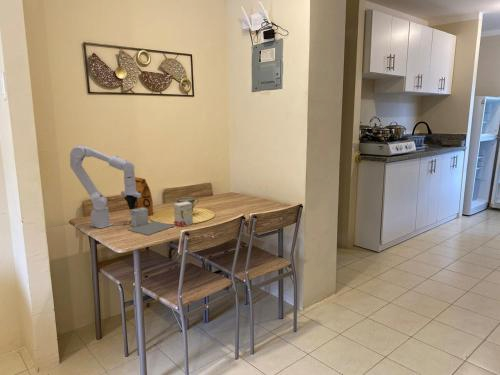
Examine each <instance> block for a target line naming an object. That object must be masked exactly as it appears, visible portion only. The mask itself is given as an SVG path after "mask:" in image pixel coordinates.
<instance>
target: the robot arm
mask: <svg viewBox="0 0 500 375" xmlns="http://www.w3.org/2000/svg"><path fill="white" fill-rule="evenodd" d="M85 158H96V159H98V160H101V161H103V162H106V163H108V165H109V167H112V168H113V169H116V170H120V171H123V183H124V190H123V191H120V196H124V200H125V202H126V203H127V205H128V209H129V210H130V211H131V210H133V209H134V207H135V203H136V200H137V198H139V197H141V194H140V193H138V191H136V182H135V177H136V175H135V174H136V173H135V164H134V162H131V161H130V160H129V161H128V159H122V158H121V157H119V156H118V155H112V156H110V155H108V154H105V153H103V152H100V151H99V150H96V149H94V148H91V147H89V146H85V145H83V144H78V145H76V146H74V147H72V148H71V150H70V153H69V167H70V169H71V170H72V171H73V173H74V174H75V176H76V177H77V180H78V181H79V182H80V183H81V185H82V187H83V188H84V189H85V191H86V192H87V194H88V196H89V198H90V201H91V202H92V207H93V209H92V210H91V211H90V223H91V224H89V226H90V227H93V228H97V229H103V228H106V227H110V226H113V225H114V223H110V215H109V207H108V206H107V205H108V202H109V201H108V199H107V196H104V195H103V194H102V192H101V191H99V190H98V188H97V186H96V185H95V183H94V181H92V179H91V177H90V175H89V174H88V173H87V172H86V170H85V168H84V167H83V165H82V164H83V162H84V160H85Z"/></svg>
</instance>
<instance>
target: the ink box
mask: <svg viewBox="0 0 500 375" xmlns="http://www.w3.org/2000/svg"><path fill="white" fill-rule="evenodd" d="M173 208H174V209H173V210H174V226H175V227H176V226H177V227H179V228H182V227H187V226H189V225H192V224H194V222H193V220H194V219H193V214H192V203H190V202H187V201H186V202H181V203H177V202H176V203H174V206H173Z"/></svg>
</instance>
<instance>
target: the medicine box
mask: <svg viewBox="0 0 500 375" xmlns="http://www.w3.org/2000/svg"><path fill="white" fill-rule="evenodd" d="M129 213H130V224H131V227H133V228H134V227H138V226H141V225H144V224H147V223H149V215H148V209H146V208H138V209H134V210H133V209H132V210H130V212H129Z"/></svg>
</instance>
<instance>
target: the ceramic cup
mask: <svg viewBox="0 0 500 375" xmlns="http://www.w3.org/2000/svg"><path fill="white" fill-rule="evenodd" d="M196 200H197V201H196ZM176 201H177V202H176V203H181V202H186V201H187V202H190V203H192V215H193V213H194V207H195V206H196V205H197V204H199V202H200V200H199V198H197V197H196V198H195V197H192V196H184V197H183V196H181V197H179V198H176ZM195 201H196V203H195Z"/></svg>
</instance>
